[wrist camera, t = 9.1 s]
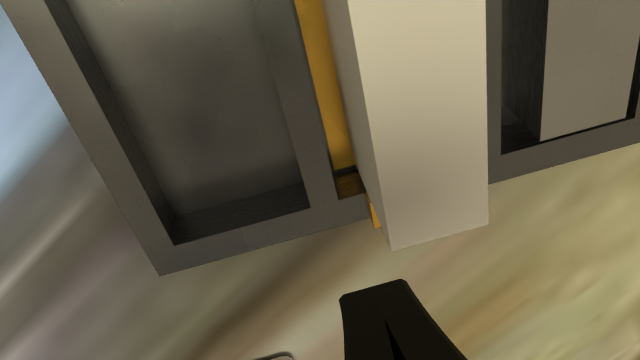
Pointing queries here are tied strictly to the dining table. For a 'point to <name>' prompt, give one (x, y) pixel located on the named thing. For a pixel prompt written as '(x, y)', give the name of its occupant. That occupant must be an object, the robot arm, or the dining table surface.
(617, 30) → the rack
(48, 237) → the dining table surface
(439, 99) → the tall cream block
